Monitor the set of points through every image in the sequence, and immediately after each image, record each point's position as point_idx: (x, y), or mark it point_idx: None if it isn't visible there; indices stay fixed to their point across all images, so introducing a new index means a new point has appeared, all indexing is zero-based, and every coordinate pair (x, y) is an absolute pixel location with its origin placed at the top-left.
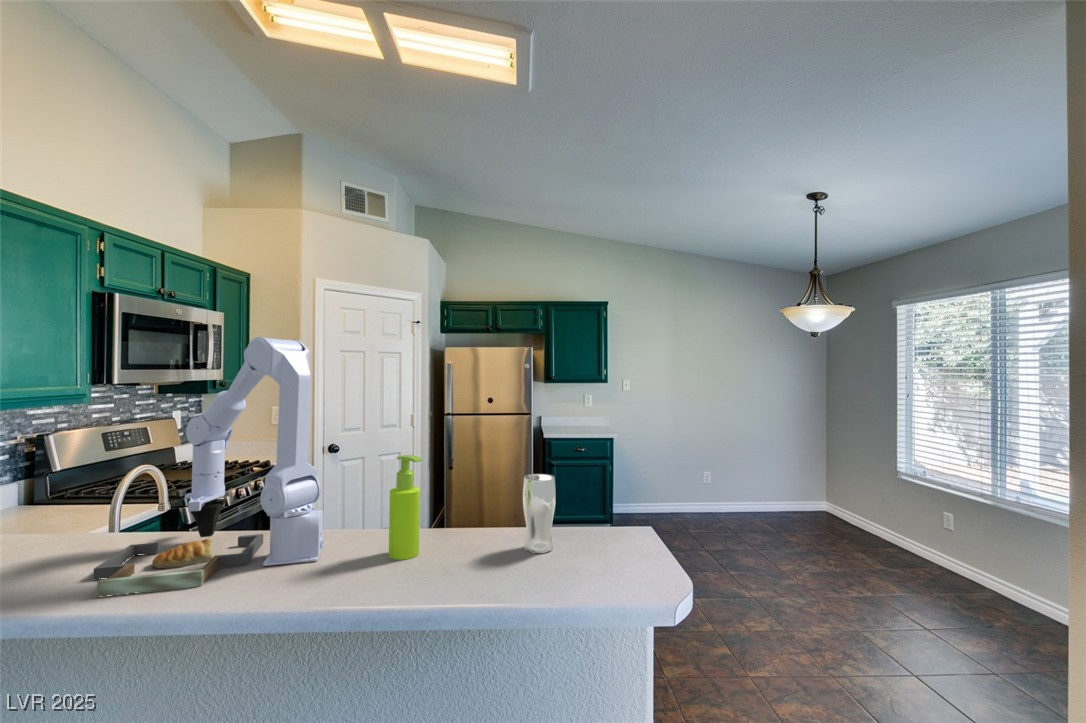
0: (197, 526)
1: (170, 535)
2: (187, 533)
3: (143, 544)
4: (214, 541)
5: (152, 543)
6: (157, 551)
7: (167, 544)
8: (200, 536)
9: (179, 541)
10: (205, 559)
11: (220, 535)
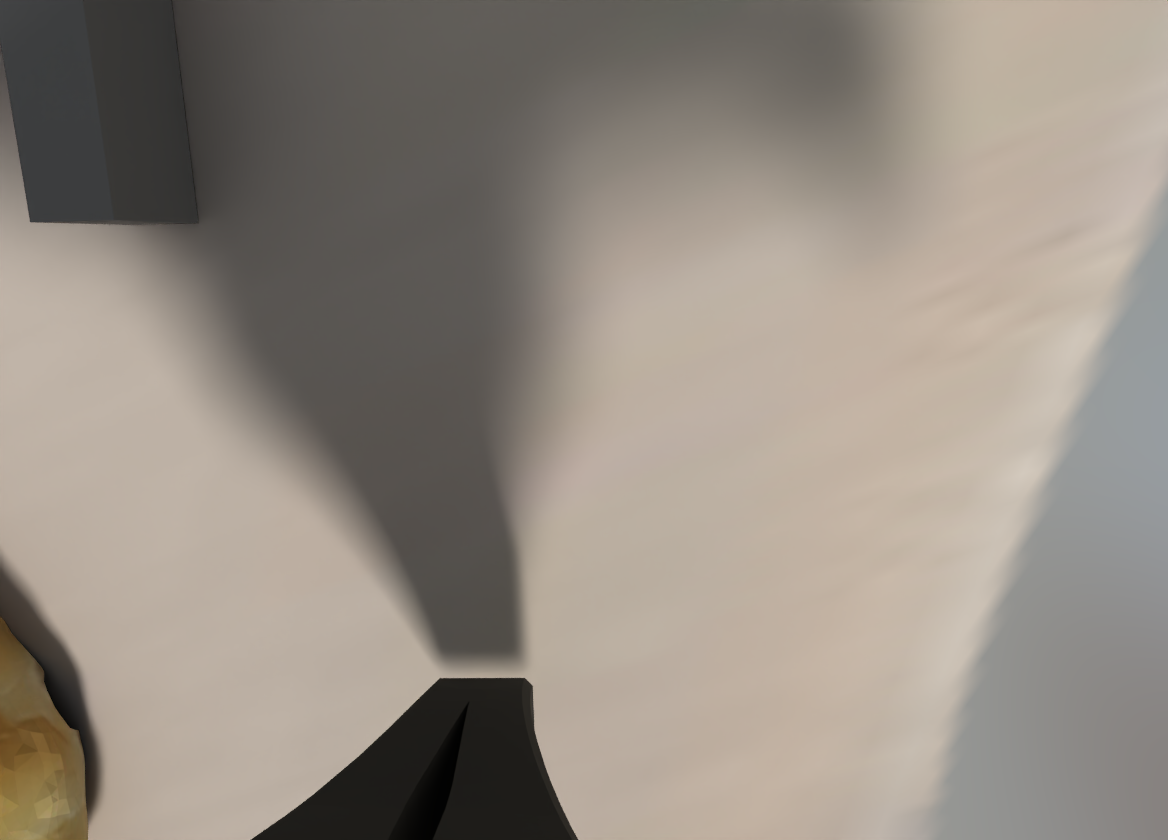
0: (354, 760)
1: (1026, 31)
2: (1041, 268)
3: (46, 13)
4: None
5: (83, 148)
6: (189, 222)
7: (547, 196)
8: (431, 687)
9: (648, 313)
10: None
11: (770, 752)
